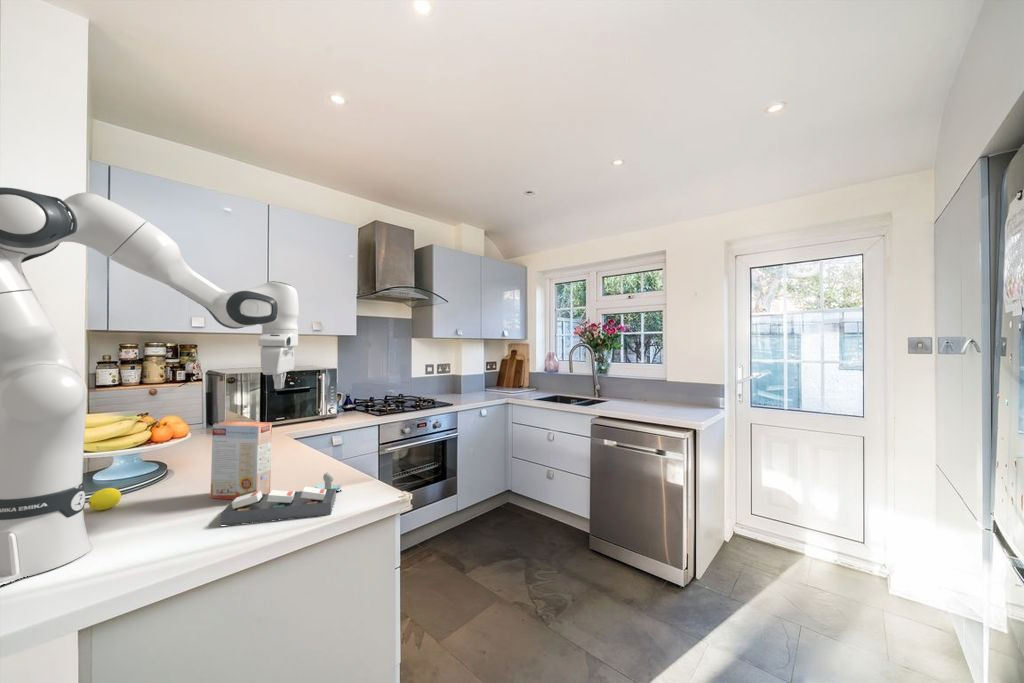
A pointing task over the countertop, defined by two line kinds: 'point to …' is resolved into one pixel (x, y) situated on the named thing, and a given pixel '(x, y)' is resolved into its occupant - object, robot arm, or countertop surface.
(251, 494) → the rocker
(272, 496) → the rocker
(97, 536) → the countertop surface
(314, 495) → the rocker
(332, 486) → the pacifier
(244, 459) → the cracker box
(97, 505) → the lemon
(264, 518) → the power strip
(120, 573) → the countertop surface
